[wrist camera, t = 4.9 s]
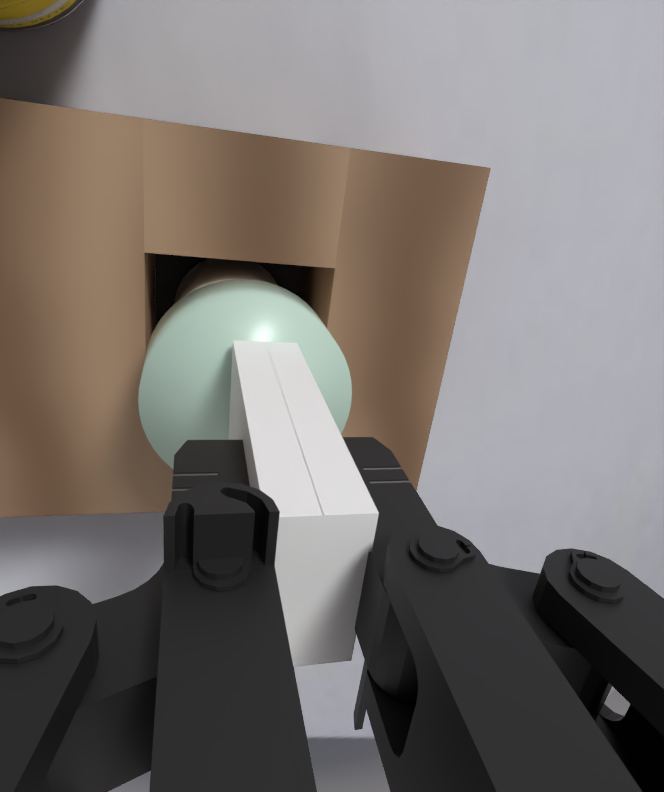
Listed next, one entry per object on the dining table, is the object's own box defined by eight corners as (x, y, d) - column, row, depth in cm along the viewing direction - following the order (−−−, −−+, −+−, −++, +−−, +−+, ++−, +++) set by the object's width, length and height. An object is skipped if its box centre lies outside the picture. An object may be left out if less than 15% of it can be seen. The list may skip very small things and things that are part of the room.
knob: (157, 371, 21) (140, 494, 14) (157, 231, 19) (136, 292, 12) (291, 375, 22) (337, 488, 15) (305, 245, 20) (366, 307, 13)
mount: (-423, 439, 18) (-617, 537, 14) (-639, 7, 13) (-1048, -52, 9) (375, 438, 25) (413, 503, 21) (426, 159, 20) (490, 167, 16)
